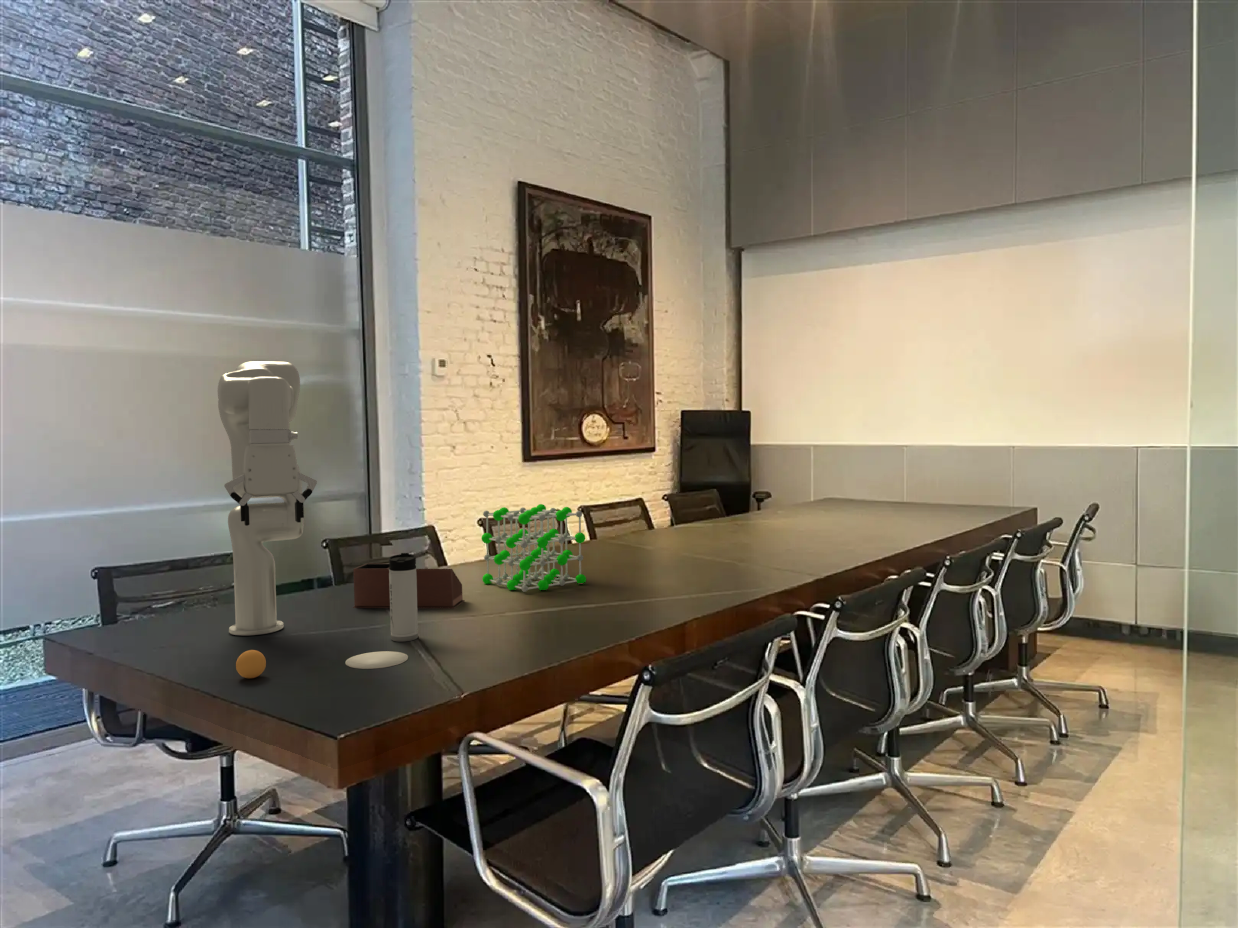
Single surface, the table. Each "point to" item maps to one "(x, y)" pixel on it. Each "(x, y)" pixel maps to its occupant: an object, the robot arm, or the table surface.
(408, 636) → the travel mug
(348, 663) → the disc
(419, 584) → the desk organizer
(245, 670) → the ball
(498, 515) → the molecular structure model
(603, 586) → the table surface
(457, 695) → the table surface
